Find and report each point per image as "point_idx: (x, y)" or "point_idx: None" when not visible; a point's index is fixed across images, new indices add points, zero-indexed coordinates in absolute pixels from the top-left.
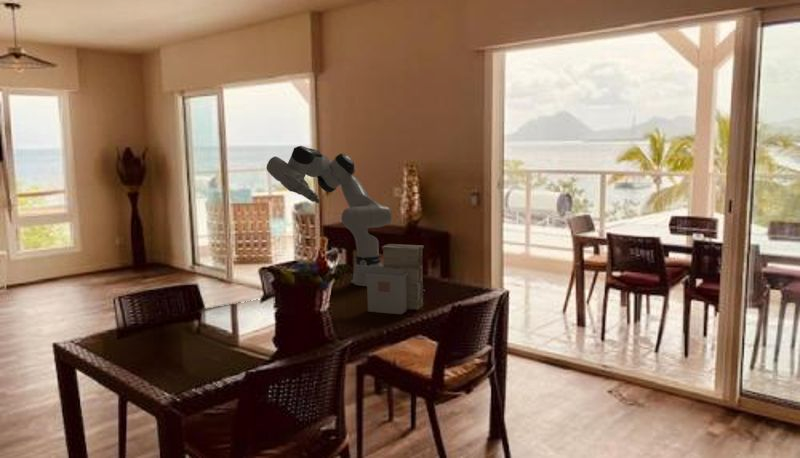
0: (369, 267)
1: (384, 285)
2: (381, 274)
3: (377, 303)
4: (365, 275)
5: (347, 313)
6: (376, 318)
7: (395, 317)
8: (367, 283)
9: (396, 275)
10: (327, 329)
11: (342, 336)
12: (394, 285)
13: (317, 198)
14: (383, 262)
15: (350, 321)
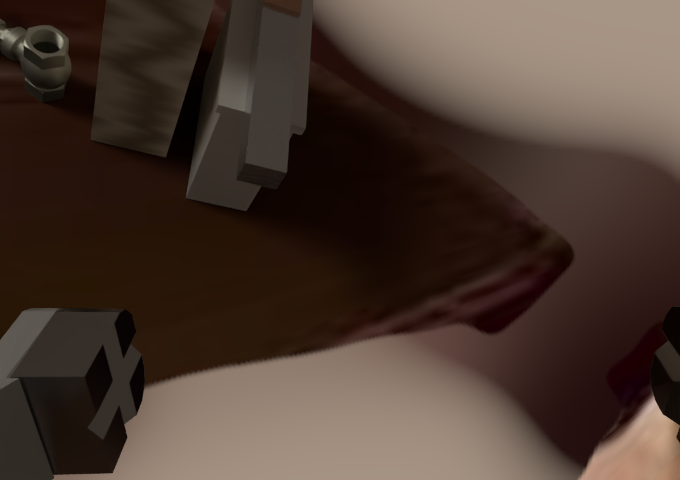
0: (291, 93)
1: None
2: (303, 58)
3: None
4: (302, 132)
5: (290, 283)
6: (327, 168)
7: None
8: None
9: (308, 1)
10: (482, 299)
11: (518, 236)
12: None
13: (99, 345)
14: (207, 21)
15: (384, 247)
